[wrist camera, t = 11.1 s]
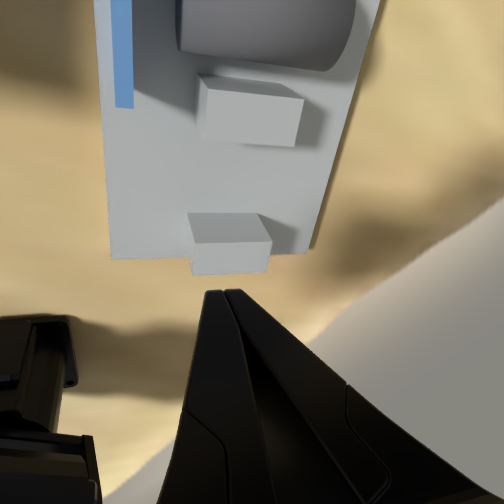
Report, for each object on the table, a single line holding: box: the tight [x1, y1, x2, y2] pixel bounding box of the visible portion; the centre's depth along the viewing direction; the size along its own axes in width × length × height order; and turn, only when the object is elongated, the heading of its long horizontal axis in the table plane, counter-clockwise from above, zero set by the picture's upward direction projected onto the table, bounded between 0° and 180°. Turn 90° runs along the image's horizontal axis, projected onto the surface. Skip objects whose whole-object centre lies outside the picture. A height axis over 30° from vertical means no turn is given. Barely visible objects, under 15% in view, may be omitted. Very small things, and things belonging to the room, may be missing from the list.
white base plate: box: [93, 0, 380, 276], centre depth 16 cm, size 18×12×5 cm, turn 170°
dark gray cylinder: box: [175, 0, 356, 72], centre depth 14 cm, size 6×4×4 cm, turn 80°
